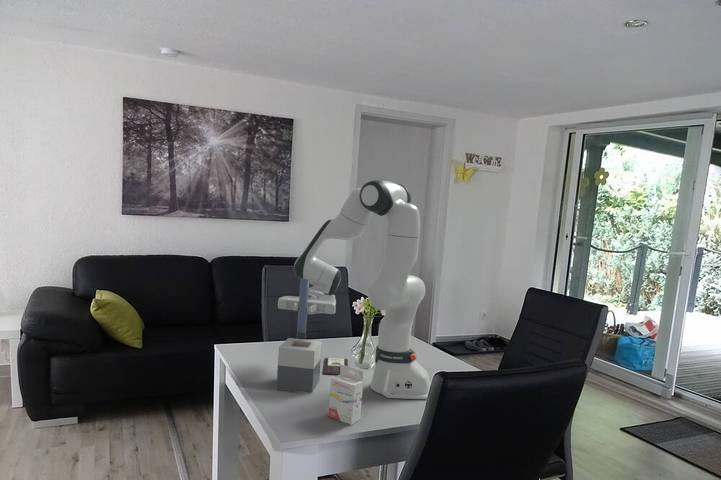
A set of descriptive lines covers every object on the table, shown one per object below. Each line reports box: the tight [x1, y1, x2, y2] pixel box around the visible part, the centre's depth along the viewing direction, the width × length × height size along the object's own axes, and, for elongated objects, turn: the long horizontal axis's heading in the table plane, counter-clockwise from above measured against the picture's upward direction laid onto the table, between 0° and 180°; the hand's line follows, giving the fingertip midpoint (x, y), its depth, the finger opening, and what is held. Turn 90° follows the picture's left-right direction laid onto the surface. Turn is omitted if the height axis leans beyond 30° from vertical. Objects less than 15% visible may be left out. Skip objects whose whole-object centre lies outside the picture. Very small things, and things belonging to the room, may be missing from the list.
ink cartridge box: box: [327, 365, 364, 426], centre depth 141 cm, size 9×5×15 cm, turn 58°
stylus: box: [296, 279, 310, 340], centre depth 164 cm, size 3×3×20 cm
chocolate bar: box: [322, 357, 349, 376], centre depth 187 cm, size 9×1×18 cm
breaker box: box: [275, 337, 323, 394], centre depth 165 cm, size 12×12×14 cm
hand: (302, 309), depth 163 cm, fingers closed on stylus, 3 cm apart
